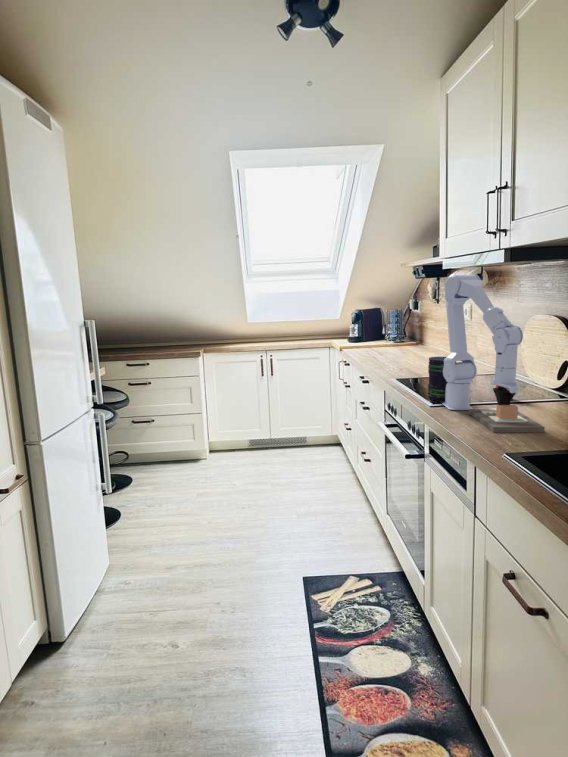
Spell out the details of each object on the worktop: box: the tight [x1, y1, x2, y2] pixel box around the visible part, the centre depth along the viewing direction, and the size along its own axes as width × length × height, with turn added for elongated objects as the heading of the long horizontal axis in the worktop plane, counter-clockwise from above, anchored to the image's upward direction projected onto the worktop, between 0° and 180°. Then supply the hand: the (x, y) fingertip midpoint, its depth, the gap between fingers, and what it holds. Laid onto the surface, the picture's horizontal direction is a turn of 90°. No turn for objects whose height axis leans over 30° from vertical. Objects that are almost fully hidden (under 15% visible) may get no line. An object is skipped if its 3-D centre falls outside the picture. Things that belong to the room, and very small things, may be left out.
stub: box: [489, 404, 528, 422], centre depth 151 cm, size 6×9×4 cm, turn 88°
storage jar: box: [427, 356, 457, 403], centre depth 186 cm, size 10×10×15 cm
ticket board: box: [468, 407, 545, 433], centre depth 154 cm, size 22×14×2 cm, turn 178°
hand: (503, 411), depth 155 cm, fingers closed
